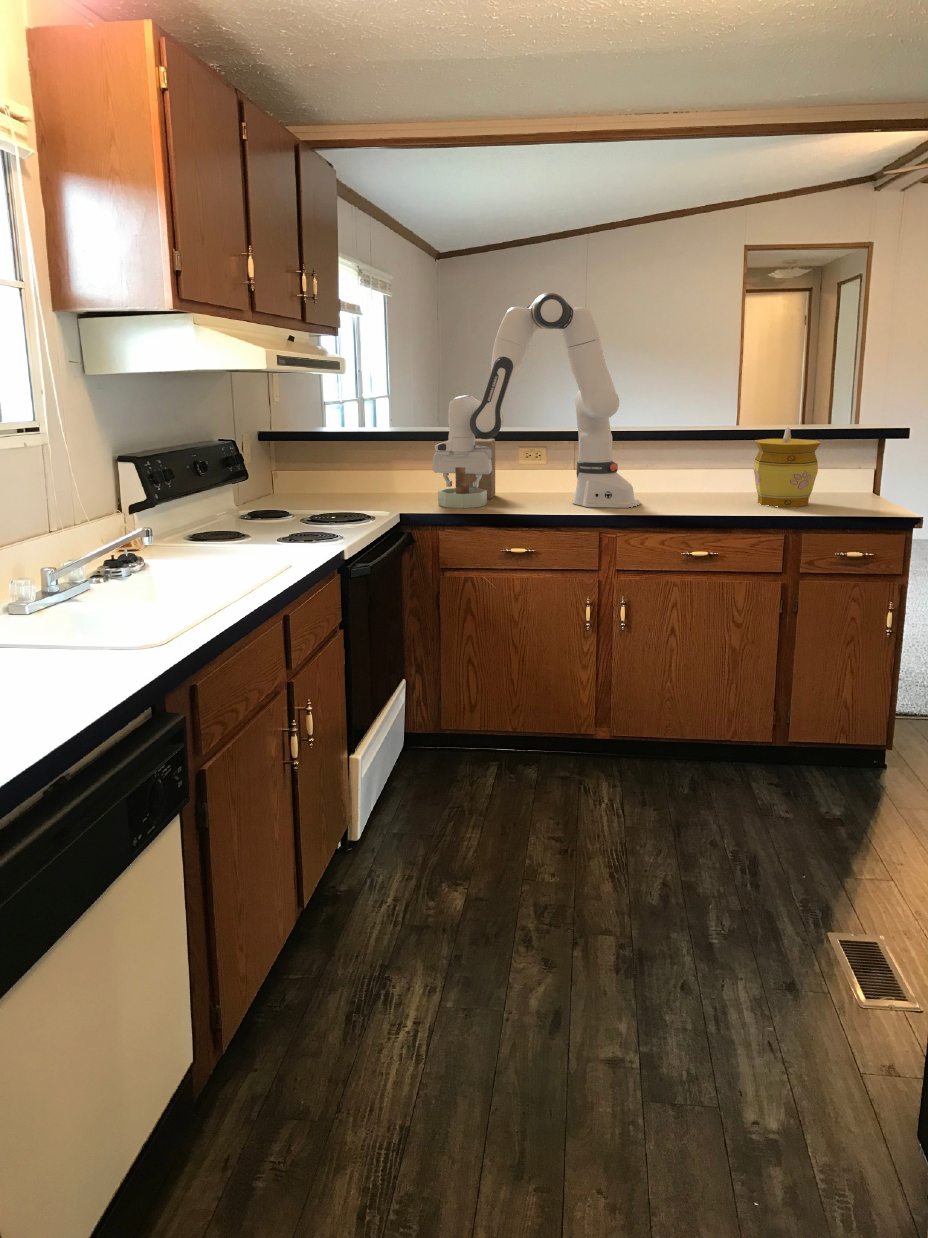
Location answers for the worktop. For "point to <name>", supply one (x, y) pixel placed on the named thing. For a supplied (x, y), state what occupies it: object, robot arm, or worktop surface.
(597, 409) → the robot arm
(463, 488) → the wooden rectangular beam
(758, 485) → the container
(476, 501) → the octagonal green tray
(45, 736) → the worktop surface
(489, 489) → the wooden block
